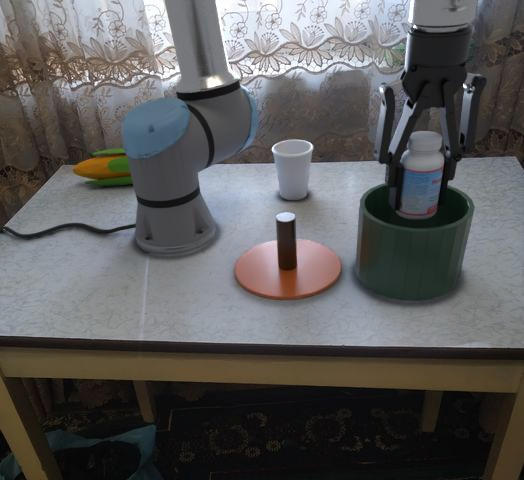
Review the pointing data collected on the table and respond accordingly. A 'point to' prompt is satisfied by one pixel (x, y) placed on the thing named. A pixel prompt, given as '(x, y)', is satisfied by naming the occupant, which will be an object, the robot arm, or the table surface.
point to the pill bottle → (421, 175)
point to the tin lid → (287, 265)
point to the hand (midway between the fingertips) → (416, 203)
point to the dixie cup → (293, 167)
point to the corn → (106, 169)
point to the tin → (411, 246)
